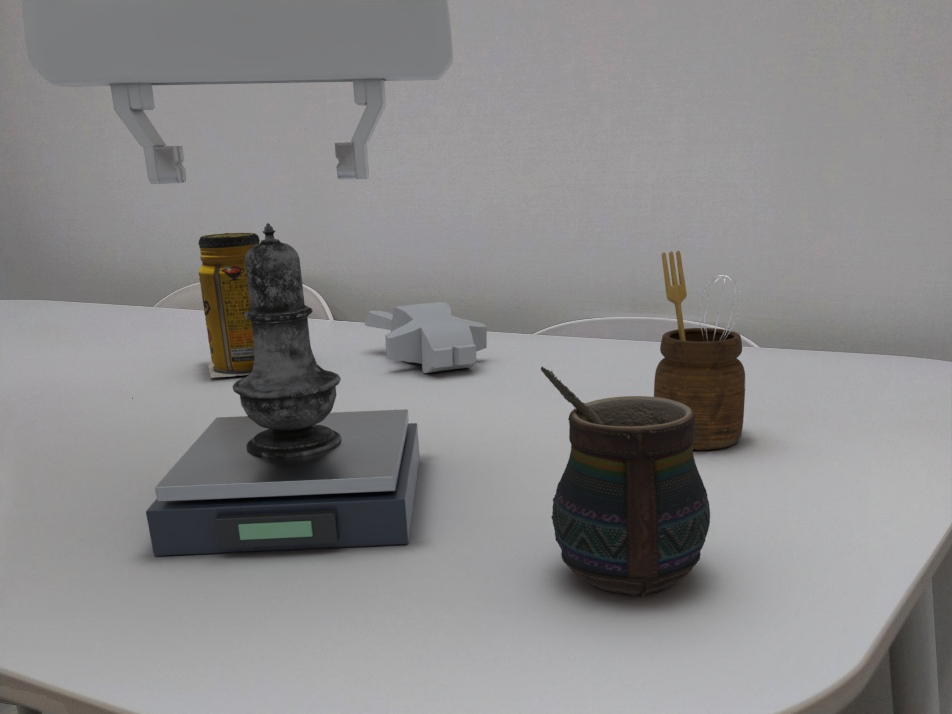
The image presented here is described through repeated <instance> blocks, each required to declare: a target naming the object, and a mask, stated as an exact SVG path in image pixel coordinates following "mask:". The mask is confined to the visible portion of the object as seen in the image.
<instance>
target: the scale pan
mask: <svg viewBox="0 0 952 714" xmlns="http://www.w3.org/2000/svg"><path fill="white" fill-rule="evenodd" d="M409 419H410V418H409V410H408V409H407V408H405V409H384V410H381V409H380V410H360V411H359V410H357V411H339V412H338V411H337V412H335V411H334V412H330V413H329V414H328V416H327V417H326V418H325V419H324V420H323V421H322V422H320V423H317V424H316V425H323V426H326V427H328V428H330V429H332V430H334V431H336V432H337V433H339V434H340V436H341V442H340V443H339V444H338V445H337V446H335V447H333V448H331V449H329V450H326V451H323V452H320V453H316V454H311V455H306V456H298V457H286V458H273V457H263V456H257V455H254V454H251V453H250V452H249V451H247V447H246V445H247V443H248V442H249V441H250V440H251V439H252V438H254V437H255V435H257V434H258V433H260V432H262V431H264V430H267V429H268V428H264V427H261V426H259V425H258V424H256V423H255V422H254V421H253V420H251V419H250V418H249V417H248V416H247V415H246V416H245V415H244V416H243V415H241V416H223V417H222V416H218V417H215V419H214V420H213V421H212V422H211V423H210V424H209V425H208V427H207V428H206V429H205V430H204V431H203V432H202V433H201V435H199V437H198V438H197V439H196V440H195V442H194V443H192V445H190V447H189V448H188V449H187V451H185V453H183V455H182V456H181V457H180V459H178V461H177V462H176V463H175V464H174V465H173V467H171V468H170V470H169V471H168V472H167V473H166V474H165V476H164V477H163V478H162V479H161V480H160V481H159V482H158V484H157V485H156V486H155V487H154V490H155V496H156V499H157V501H158V502H168V501H190V500H212V499H234V498H256V497H278V496H300V495H322V494H344V493H366V492H388V491H395V489H396V484H397V479H398V474H399V469H400V464H401V458H402V453H403V448H404V443H405V438H406V432H407V427H408V423H410V420H409Z"/></svg>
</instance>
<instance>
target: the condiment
mask: <svg viewBox="0 0 952 714" xmlns="http://www.w3.org/2000/svg"><path fill="white" fill-rule="evenodd" d="M260 242H261V240H260V236H259V235H258V234H257V233H256V232H255V233H254V232H224V233H213V234H206V235H201V236H200V237H199V239H198V246H199V253H200V255H199V257H200V261H201V263H202V264H201V265H200V267H199V270H198V277H199V283H200V291H201V298H202V304H203V314H204V316H205V317H204V318H205V319H204V320H205V326H206V332H207V340H208V345H209V351H210V352H209V353H210V358H211V359H210V360H211V361H207V362H206V363H207V367H208V371H209V376H210V379H214V378H226V377H228V378H230V377H236V376H240V377H241V376H248V375H249V374H250V373H251V372H252V371H253V365H254V358H255V346H254V339H253V331H252V323H251V321H250V320H249V319H247V318H245V315H244V314H245V313H246V312H248V311H249V310H250V309H251V305H250V297H249V289H248V282H247V274H246V266H245V256H246V254H247V252H248V250H250V249H251V248H252V247H253V246H255V245H257V244H260Z"/></svg>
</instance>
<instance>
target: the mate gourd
mask: <svg viewBox="0 0 952 714" xmlns="http://www.w3.org/2000/svg"><path fill="white" fill-rule="evenodd" d="M540 371H541V372H542V373H543V374H544V376H545V377H546V378H547V379H548V381H549V382H550V383H551V384H552V386H554V388H556V390H557V391H558V392H559V393H560V395H561V396H562V397H563V399H565V400H566V401H567V402H568V403H569V404H571V405H572V406H573V409H572V410H571V412H569V415H568V418H567V420H568V424H569V429H568V430H569V431H568V432H569V433H568V434H569V435H568V440H569V442H570V452H569V456H568V460H567V463H566V465H565V468H564V470H563V473H562V475H561V477H560V480H559V481H558V483H557V486H556V489H555V494H554V497H553V498H552V511H551V513H552V514H551V516H550V517H551V519H552V526H553V530H554V537H555V539H554V540H555V541H556V543H557V544H558V546H559V548H560V550H561V553H560V556H561V559H562V561H563V562H564V564H566V566H567V567H568V568H569V569H570V570H571V571H572V572H573V573H574V574H575V575H576V576H578V577H579V578H581V579H582V580H583V581H585V582H586V583H587V584H589V585H591V586H592V587H594V588H597V589H600V590H602V591H605V592H610V593H611V592H612V593H617V594H624V595H625V594H627V595H632V596H633V597H636V596H638V595H639V596H642V597H643V598H645V597H646V595H649V594H653V593H654V594H655V593H657V592H662V591H664V590H666V589H669V588H670V587H671V586H673V585H674V584H676V583H678V582H679V581H680V580H682V579H683V578H685V577H686V576H688V574H689V573H690V572H691V571H692V570H693V568H695V566H696V565H697V564H698V562H699V561H700V559H701V551H702V549H703V547H704V544H705V542H706V538H707V535H708V532H709V529H710V524H711V513H712V512H711V509H710V501H709V499H708V496H709V495H708V492H707V489H706V486H705V484H704V481H703V479H702V476H701V474H700V472H699V469H698V466H697V464H696V460H695V456H694V450H692V442H693V440H694V437H695V427H694V423H695V413H694V411H693V410H692V408H690V407H689V406H687V405H685V404H682V403H680V402H677V401H673V400H670V399H665V398H659V397H654V396H648V395H647V396H646V395H632V396H631V395H625V396H624V395H623V396H613V397H605V398H600V399H595V400H592V401H587V402H584V401H582V400H581V399H580V398H579V397H578V396H577V395H576V394H575V393H574V392H573V391H571V389H570V388H569V387H568V386H567V385H565V384H564V383H563V382H562V380H561V379H558V376H556V374H554V372H553V370H551V371H550V369H547V368H546V367H544V366H541V367H540Z"/></svg>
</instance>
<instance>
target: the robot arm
mask: <svg viewBox="0 0 952 714" xmlns="http://www.w3.org/2000/svg"><path fill="white" fill-rule="evenodd" d="M21 14H22V23H23V33H24V40H25V47H26V48H25V49H26V54H27V58H28V61H29V63H30V65H31V66H32V68H33V69H35V71H36V72H37V73H38V74H39V75H40V76H41V77H42V78H43V80H44V81H46V82H47V83H48V84H50V85H53V86H57V87H58V86H59V87H66V88H67V87H68V88H86V87H87V88H89V87H90V88H91V87H92V88H94V87H95V88H97V87H110V91H111V99H112V104H113V110H114V112H115V113H116V115H117V116H118V117H119V119H120V120H121V121H122V123H123V124H124V125H125V127H126V128H127V130H128V131H129V133H130V134H131V135H132V137H133V138H134V139H135V141H136V142H137V144H138V145H139V147H142V149H143V155H144V161H145V166H146V174H147V175H146V176H147V179H148V181H149V184H151V185H168V184H170V185H172V184H182V183H186V182H187V169H186V167H185V166H184V164H183V162H184V160H185V156H184V149H183V148H184V147H183V145H167V144H166V143H165V141H164V139H163V138H162V136H161V135H160V133H159V131H158V130H157V129H156V127H155V125H154V124H153V123H152V121H151V120H150V118H149V116H148V115H147V114H146V112H145V111H153V110H154V109H155V108H156V106H155V99H154V98H155V97H154V90H153V86H196V85H197V86H198V85H247V84H249V85H251V84H299V83H300V84H304V83H305V84H306V83H351V82H352V88H353V99H354V100H353V101H354V103H355V104H356V106H360V107H365V108H364V111H363V113H362V115H361V117H360V120H359V122H358V124H357V127H356V128H355V131H354V133H353V134H352V135H353V136H352V137H351V139H350V141H349V142H348V141H347V142H334V152H335V153H334V154H335V158H336V159H337V161H338V162H337V165H336V175H337V180H368V179H369V177H370V169H369V168H370V166H369V154H368V153H369V151H368V142H370V141H371V139H372V137H373V135H374V132H375V130H376V128H377V127H378V124H379V121H380V120H381V117H382V115H383V113H384V112H385V109H386V107H387V100H386V99H387V98H386V83H385V82H409V81H410V82H411V81H413V82H414V81H416V82H417V81H438V80H440V79H442V78H443V77H444V76H445V74H446V73H447V72H448V71H449V69H450V68H451V66H452V65H453V63H454V48H453V36H452V26H451V18H450V9H449V1H448V0H21Z"/></svg>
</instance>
